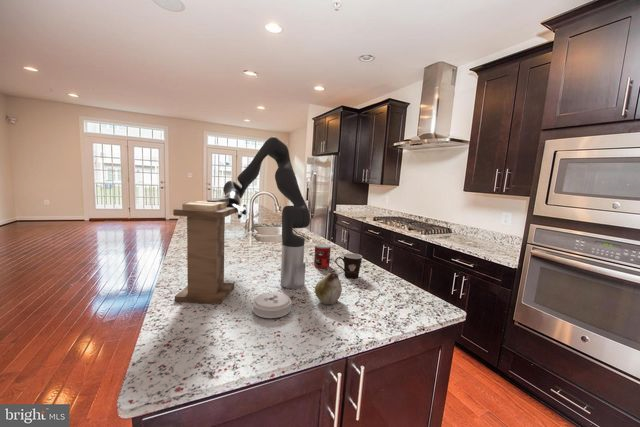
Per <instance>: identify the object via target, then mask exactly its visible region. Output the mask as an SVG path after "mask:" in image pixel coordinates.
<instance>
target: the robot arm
mask: <svg viewBox="0 0 640 427" xmlns="http://www.w3.org/2000/svg"><path fill="white" fill-rule="evenodd" d="M268 156H269V157H270V158H271V159H273V160H274V162H275V163H276V165H277V169H276V170H275V174H274V180H275V182H276V184H275V185H276V187H277V189H278V191H279V192H280V193H281V194H282V195H283V196H284V197H285V198H286V199H287V200H289V201H290V203H292V205H285V206H283V208H282V210H281V211H282V212H281V257H280V258H281V261H280V262H281V264H280V265H281V266H280V286H281V287H283V288H287V289H294V290H297V289H299V288H301V287H303V286H304V285H305V284H306V283H305V280H306V262H304V261H305V260H304V259H305V242H306V241H305V238H304V237H303V236H301V235H298V234H295V233H294V232H293V231H294V230H293V229H304V228H305V229H306V228H307V227H309V225H310V224H311V214H310V211H309V208H308V205H307V203H306V201H305V199H304V197H303V194H302V192H301V189H300V186H299V184H298V180H297V176H296V173H295V171H294V169H293V168H294V167H293V165H292V161H291V158H290V157H291V156H290V152H289V147H288V146H287V145H286V144H285V143H284V142H283V141H282V140H280V139H279V138H278V137H276V136H270V137H269V138H267V139H266V141H265V142H264V143H263V144H262V146H261V147H260V149H259V150H258V151H257V152H256V155H255V156H254V157H253V159H252V160H251V162H250V163H249V164H248V165H247V166H246V167H245V169H244V170H242V172H241V173H239V175H238V176H237V179H236V180H237V181H238V183H239V184H240V185H239V184H238V183H236V181H233V180H228V181H227V182H225V183H224V186H223V193H224V196H223V198H229V204H227V207H231V208H235V213H234V214H235V215H237V219H239V220H240V219H241V218H242V216H243V215H244V216H246V215H247V204H243V205H240V204H241V199H242V198H243V196H244V195H245V192H246V190H247V189H248V188H249V186H250V185H251V184H252V183H253V182H254V181H255V180H256V179H257V178H258V176H259V175H260V172H261V171H260V170H261V167H262V163H263V161H264V160H265V158H266V157H268Z"/></svg>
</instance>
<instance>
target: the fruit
mask: <svg viewBox="0 0 640 427" xmlns="http://www.w3.org/2000/svg"><path fill="white" fill-rule="evenodd" d="M342 291H343V287H342V283H341V280H340V278H339V275H338V274H336V273H335V272H329V273H327V275H325V276H324V277H322V278H321V279H320V280H318V282H317V283H316V284H315V287H314V293H315V296H316V299H318V301H319V302H320V303H323V304H324V305H333V304H335V303H336V302H338V300H339V299H340V298H341V296H342Z"/></svg>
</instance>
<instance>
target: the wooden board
mask: <svg viewBox="0 0 640 427" xmlns="http://www.w3.org/2000/svg"><path fill="white" fill-rule="evenodd" d="M227 204H229V198H224V197H218V198H212V199H209V200H197V201H192V202H187V203H182V207H181V208H182V210H190V211H207V212H214V211H217V210H220V209H224V208H227Z"/></svg>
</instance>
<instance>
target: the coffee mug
mask: <svg viewBox="0 0 640 427" xmlns="http://www.w3.org/2000/svg"><path fill="white" fill-rule="evenodd" d="M339 259H340V260H342V262H343V266H341V265H340V264H338V262H337V260H339ZM362 260H363V255H361V254H358V253H355V252H354V253H352V252H350V253H345V254H343V257H341V256H338V257H336V258H335V262H334V263H335V264H336V265H337V267H338V268H340V269H341V270H343V271H344V277H345V278H346V279H349V280H350V279H351V280H355V279H358V278H359V274H360V269H361V266H362Z"/></svg>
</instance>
